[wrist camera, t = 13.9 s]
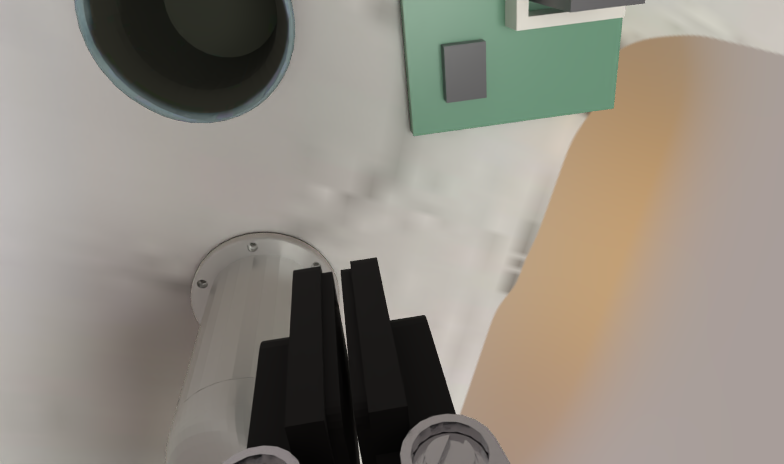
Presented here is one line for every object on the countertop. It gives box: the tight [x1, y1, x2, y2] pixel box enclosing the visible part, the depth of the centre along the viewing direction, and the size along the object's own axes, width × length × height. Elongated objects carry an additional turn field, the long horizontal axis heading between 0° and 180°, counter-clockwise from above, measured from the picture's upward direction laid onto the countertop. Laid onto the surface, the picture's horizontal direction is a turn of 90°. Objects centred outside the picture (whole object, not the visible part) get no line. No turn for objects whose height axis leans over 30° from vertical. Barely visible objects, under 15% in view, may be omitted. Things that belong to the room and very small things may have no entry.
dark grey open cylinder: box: [74, 0, 295, 123], centre depth 32 cm, size 10×10×12 cm
